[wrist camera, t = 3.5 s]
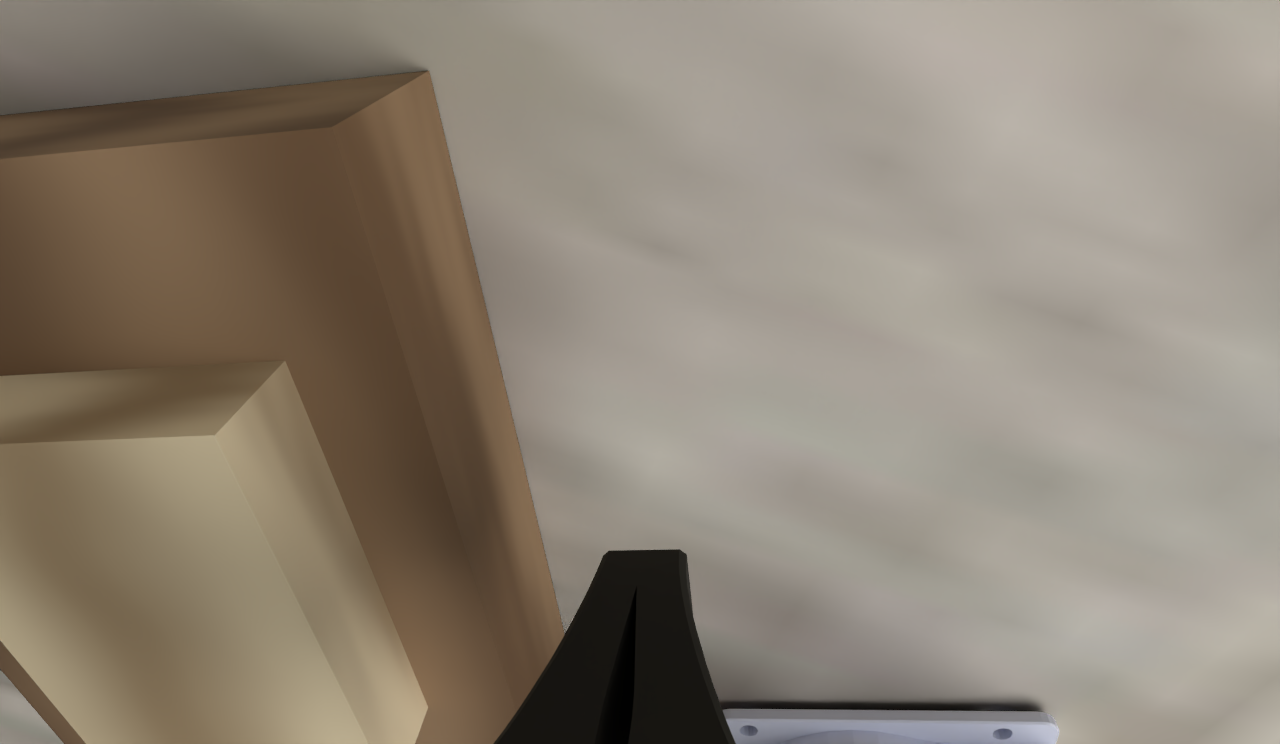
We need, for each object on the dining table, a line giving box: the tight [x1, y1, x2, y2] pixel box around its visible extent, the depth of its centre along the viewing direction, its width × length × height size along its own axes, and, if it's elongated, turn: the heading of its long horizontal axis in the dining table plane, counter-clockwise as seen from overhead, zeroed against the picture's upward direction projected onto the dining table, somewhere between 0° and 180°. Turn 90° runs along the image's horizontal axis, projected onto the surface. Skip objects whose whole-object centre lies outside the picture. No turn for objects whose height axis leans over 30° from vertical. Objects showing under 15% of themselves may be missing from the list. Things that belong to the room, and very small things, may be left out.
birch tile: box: [0, 361, 428, 744], centre depth 14 cm, size 6×9×2 cm, turn 6°
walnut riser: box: [0, 71, 565, 744], centre depth 17 cm, size 12×16×4 cm
